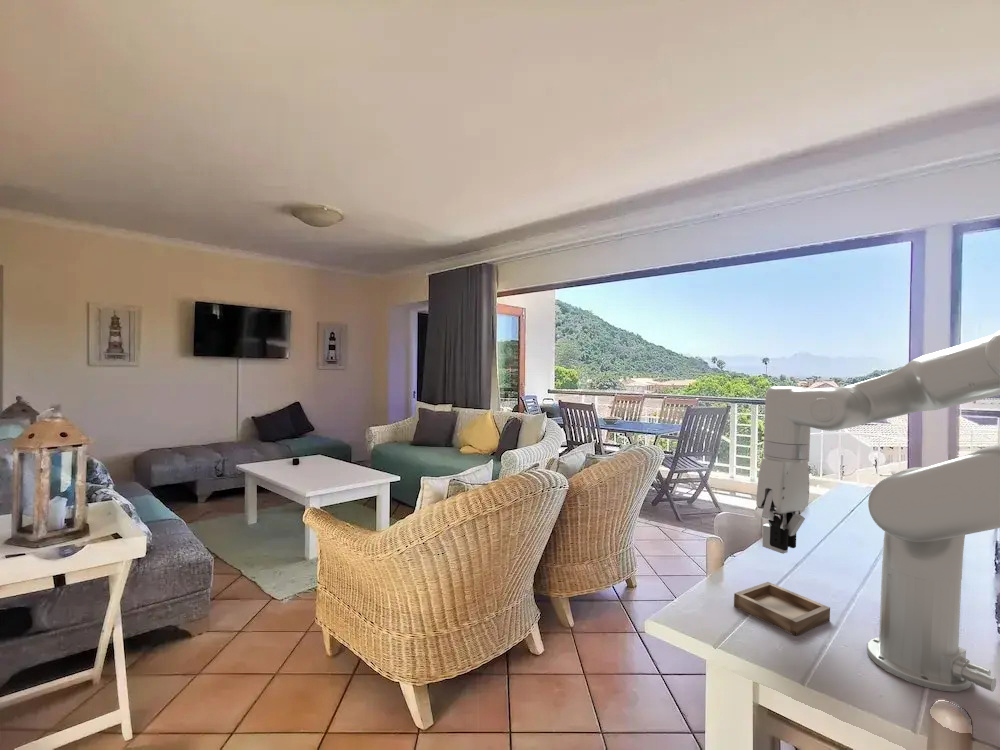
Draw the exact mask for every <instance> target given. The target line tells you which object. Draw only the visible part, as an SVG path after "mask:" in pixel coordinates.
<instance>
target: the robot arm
mask: <svg viewBox="0 0 1000 750" xmlns="http://www.w3.org/2000/svg"><path fill="white" fill-rule="evenodd" d="M998 396H1000V330H998V331H996V332H995V333H994V334H991V335H987V336H985V337H981V338H979V339H975V340H971V341H969V342H965V343H962V344H959V345H954V346H952V347H949V348H945V349H942V350H938V351H935V352H931V353H927V354H924V355H921V356H919V357H916V358H914V359H912V360H910V361H909V362H907V364H905V365H904V366H902V367H900V368H899V369H896V370H893V371H891V372H888V373H885V374H883V375H880V376H876V377H873V378H869V379H867V380H864V381H860V382H856V383H854V384H849V385H845V386H832V387H821V388H806V387H802V386H791V385H789V386H787V385H779V386H778V385H775V386H774V385H773V386H770V387H769V388H767V390H766V392H765V403H764V404H765V406H764V426H763V427H764V430H763V431H764V433H763V436H764V437H763V457H762V459H761V463H760V468H759V472H758V479H757V488H756V489H757V490H756V507H757V508H758V509H761V510H762V512H761V518H763V519H766V520H767V521H768V524H769V525H770V545H771V546H773V547H775V548H778V549H781V550H784V551H786V550H788V551H789V548H791V549H795V548H796V547H797V533H796V534H795V535H793V536H789V535H788V534H789V530H788V529H786V526H787V525H788V523H789V522H790V520H791V518H792V517H793V515H794V514H798V513H799V514H800V515H802V513H803V512H804V511H805V510H806V508H807V507H808V506H809V501H810V472H809V470H810V469H809V462H810V446H811V444H810V443H811V428H812V429H816V430H821V431H829V432H834V431H841V430H845V429H849V428H854V427H858V426H859V427H860V426H862V425H867V424H871V423H876V422H879V421H883V420H884V421H885V420H887V419H892V418H896V417H900V416H904V415H909V414H914V413H919V412H929V411H938V410H941V409H945V408H946V409H947V408H951V407H956V406H959V405H964V404H967V403H972V402H976V401H980V400H984V399H989V398H992V397H998ZM867 503H868V504H867V505H868V511H869V514H870V517H871V518H872V520H873V522H874V523H875V524H876V526H878V527H879V529H881V530H882V531H884V534H883V543H882V544H883V545H882V559H881V560H882V562H881V583H880V584H881V585H880V589H881V590H880V606H879V607H880V609H879V610H880V611H879V630H878V633H879V634H878V637H874V638H871V639H869V640H868V641H867V643H866V652H867V655H868V657H870V659H871V660H872V661H873V662H874V663H875V664H877V665H878V666H879V667H880V668H881V669H883V670H885V671H886V672H888V673H889V674H892V675H894V676H896V677H897V678H900V679H902V680H905V682H909V683H912V684H915V685H917V686H921V687H924V688H928V689H933V690H937V691H941V692H942V691H944V692H961V691H965V690H967V689H969V688H970V687H971V686H972V683H973V684H975V685H976V686H979V687H981V688H983V689H985V690H987V691H990V692H994V691H995V689H996V686H997V679H996V677H994V676H992V675H991V670H990V669H988V668H985V667H984V666H981V665H977V664H975V663H973V662H971V661H970V660H969V659H968V658H967V649H966V648H963V647H961V646H959V645H960V644H959V643H960V641H959V640H960V621H961V620H960V618H961V601H962V600H961V598H962V596H961V595H962V581H963V567H964V566H963V564H964V563H963V562H964V547H965V539H966V535H971V534H977V533H981V532H987V531H991V530H996V529H1000V444H993V445H989V446H985V447H983V448H981V449H978V450H976V451H974V452H971V453H968V454H966V455H963V456H958V457H956V458H953V459H949V460H946V461H943V462H939V463H935V464H932V465H929V466H925V467H924V466H916V467H915V466H914V467H911V468H910V467H909V468H906V469H903V470H900V471H898V472H896V473H894V474H892V475H890V476H888V477H886V478H884V479H882V480H880V481H879V482H878V483H877V484H876V485H875V486H874V487H873V488H872V490H871V491H870V494H869V495H868V502H867Z"/></svg>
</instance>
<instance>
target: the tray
mask: <svg viewBox="0 0 1000 750" xmlns="http://www.w3.org/2000/svg"><path fill="white" fill-rule="evenodd" d="M733 595H734V597H733V607H736V608H738V609H740V610H741V611H743V612H745V613H748V614H750V615H751V616H754V617H757V618H758V619H760V620H762V621H764V622H766V623H768V624H770V625H772V626H774V627H776V628H778V629H780V630H782V631H784V632H787V633H789V634H791V635H792V636H794V637H798V636H800V635H801V634H804V633H806V632H808V631H809V632H810V630H814V629H815V628H817V627H819V626H822V625H825V624H826V623H828V622H830V621H831V618H830V617H831V607H829V606H827V605H826V604H823V603H820V602H817V601H815V600H812V599H810V598H808V597H805V596H804V595H800V594H798V593H796V592H794V591H791V590H789V589H787V588H784V587H781V586H779V585H777V584H775V583H771V582H769V581H766V582H763V583H760V584H757V585H753V586H752V587H748V588H746V589H743V590H740V591H738V592H734V593H733Z"/></svg>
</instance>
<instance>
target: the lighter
mask: <svg viewBox="0 0 1000 750" xmlns="http://www.w3.org/2000/svg"><path fill="white" fill-rule="evenodd" d="M805 520H806V517H804V516H803V515H802V514H799V513H798V514H794V515H793V517H792V518H791V520H790V522H789V523H788V525H787V526H786V529H788V530H789V534H788V535H789V536H793V535H795V534H796V535H797V533H798V531H799V529H800V528H801V527H802V524H803V523H804V521H805ZM762 548H766V549H768V550H772V551H774V552H777V553H780V554H787V553H788V551H789V549H788V550H786V551H784V550H781V549H778V548H775V547H773V546H771V545H770V525H769V523H765V524H762Z"/></svg>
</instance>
